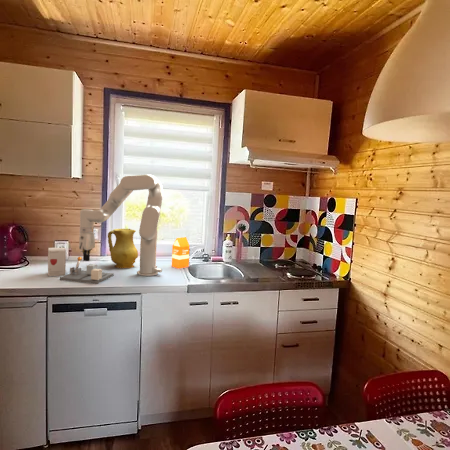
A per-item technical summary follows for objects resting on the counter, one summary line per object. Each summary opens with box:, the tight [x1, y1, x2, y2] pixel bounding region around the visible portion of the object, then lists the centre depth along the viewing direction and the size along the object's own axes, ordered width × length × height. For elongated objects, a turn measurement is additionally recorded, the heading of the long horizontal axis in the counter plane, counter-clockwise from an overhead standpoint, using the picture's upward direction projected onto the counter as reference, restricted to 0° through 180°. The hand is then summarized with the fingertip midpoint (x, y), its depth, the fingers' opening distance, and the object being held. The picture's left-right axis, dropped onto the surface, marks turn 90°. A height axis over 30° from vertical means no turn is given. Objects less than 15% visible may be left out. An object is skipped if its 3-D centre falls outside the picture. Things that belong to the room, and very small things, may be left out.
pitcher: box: [107, 228, 139, 269], centre depth 225 cm, size 17×19×25 cm
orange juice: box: [171, 236, 190, 269], centre depth 232 cm, size 8×9×20 cm
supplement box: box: [47, 247, 67, 277], centre depth 197 cm, size 9×9×15 cm
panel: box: [59, 266, 115, 285], centre depth 193 cm, size 22×18×5 cm
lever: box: [73, 256, 83, 273], centre depth 196 cm, size 2×2×9 cm
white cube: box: [85, 263, 98, 275], centre depth 196 cm, size 4×4×5 cm
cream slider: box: [91, 268, 103, 280], centre depth 186 cm, size 4×4×5 cm
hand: (86, 260), depth 205 cm, fingers closed
